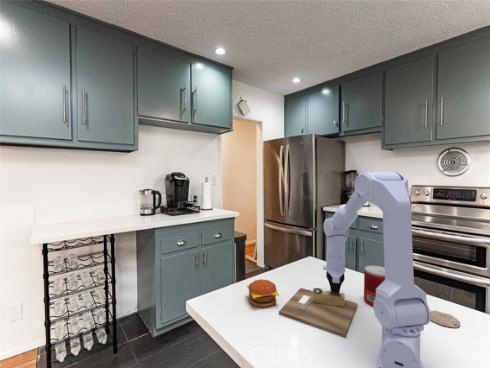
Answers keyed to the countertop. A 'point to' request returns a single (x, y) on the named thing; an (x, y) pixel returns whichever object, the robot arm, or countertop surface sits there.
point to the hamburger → (262, 293)
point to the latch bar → (328, 297)
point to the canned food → (372, 282)
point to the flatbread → (444, 319)
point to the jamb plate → (320, 313)
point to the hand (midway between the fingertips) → (334, 295)
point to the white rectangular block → (304, 302)
